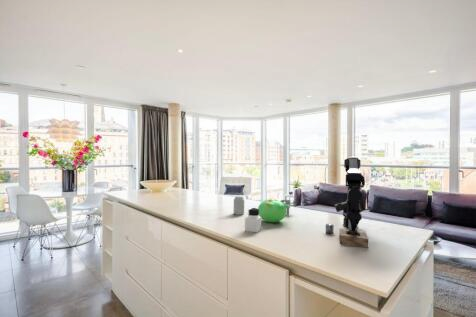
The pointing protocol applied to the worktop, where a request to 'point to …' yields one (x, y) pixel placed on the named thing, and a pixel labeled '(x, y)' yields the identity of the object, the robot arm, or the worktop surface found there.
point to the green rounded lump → (272, 210)
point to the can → (238, 206)
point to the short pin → (329, 228)
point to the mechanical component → (287, 204)
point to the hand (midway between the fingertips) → (353, 229)
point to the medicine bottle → (253, 220)
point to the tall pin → (351, 230)
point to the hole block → (353, 238)
